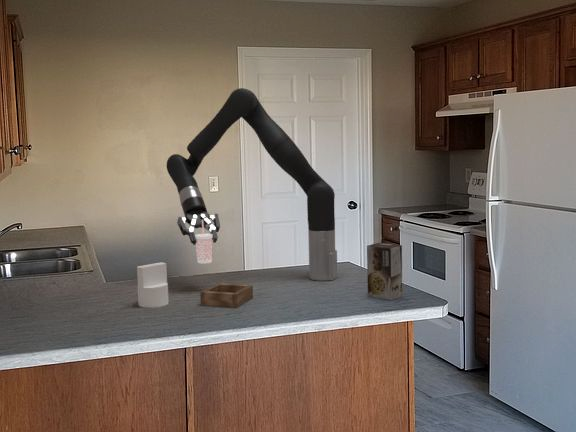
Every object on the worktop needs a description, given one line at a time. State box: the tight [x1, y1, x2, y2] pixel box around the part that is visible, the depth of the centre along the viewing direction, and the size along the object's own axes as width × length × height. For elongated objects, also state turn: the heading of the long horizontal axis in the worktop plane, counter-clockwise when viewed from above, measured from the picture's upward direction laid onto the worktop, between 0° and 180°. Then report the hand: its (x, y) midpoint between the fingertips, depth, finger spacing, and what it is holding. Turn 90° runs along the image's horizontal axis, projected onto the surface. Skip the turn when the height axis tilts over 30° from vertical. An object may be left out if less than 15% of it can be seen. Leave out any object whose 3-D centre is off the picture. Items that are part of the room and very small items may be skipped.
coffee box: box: [366, 242, 403, 301], centre depth 202 cm, size 9×6×16 cm
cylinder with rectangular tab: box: [136, 261, 169, 308], centre depth 200 cm, size 9×9×12 cm
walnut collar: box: [199, 282, 254, 309], centre depth 201 cm, size 12×12×4 cm
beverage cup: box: [195, 220, 213, 265], centre depth 214 cm, size 6×6×14 cm
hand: (205, 242), depth 213 cm, fingers closed on beverage cup, 6 cm apart
